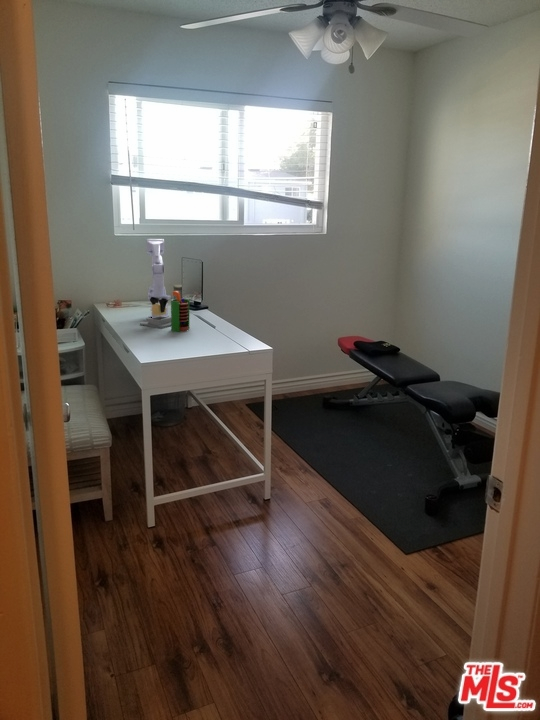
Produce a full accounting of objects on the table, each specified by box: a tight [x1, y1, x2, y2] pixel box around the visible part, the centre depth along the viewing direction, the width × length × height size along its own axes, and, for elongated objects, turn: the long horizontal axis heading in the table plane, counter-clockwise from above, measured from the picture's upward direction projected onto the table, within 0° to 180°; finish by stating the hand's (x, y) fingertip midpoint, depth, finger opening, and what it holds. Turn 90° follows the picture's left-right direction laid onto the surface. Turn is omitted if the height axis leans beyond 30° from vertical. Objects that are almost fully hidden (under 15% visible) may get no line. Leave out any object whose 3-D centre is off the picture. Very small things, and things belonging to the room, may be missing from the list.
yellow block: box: [150, 303, 169, 316], centre depth 291 cm, size 9×4×6 cm, turn 151°
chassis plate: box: [139, 316, 171, 329], centre depth 293 cm, size 14×15×4 cm
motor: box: [170, 290, 190, 333], centre depth 279 cm, size 10×9×20 cm
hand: (159, 311), depth 291 cm, fingers closed on yellow block, 4 cm apart
